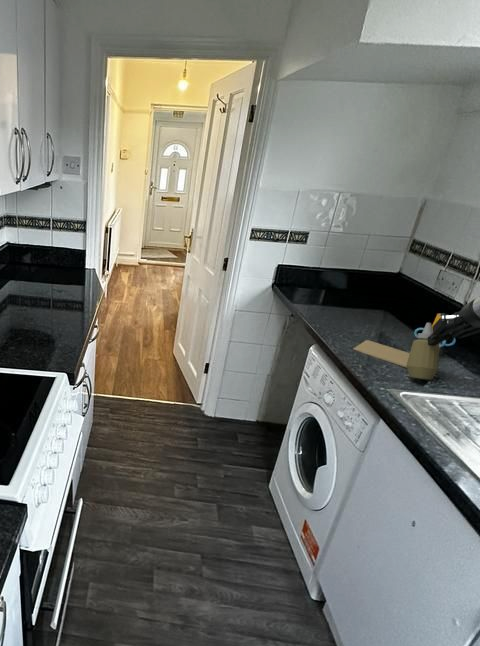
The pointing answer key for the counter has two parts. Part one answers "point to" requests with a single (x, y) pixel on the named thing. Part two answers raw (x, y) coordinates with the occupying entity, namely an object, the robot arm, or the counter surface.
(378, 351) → the cork mat
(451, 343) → the orange cylinder with loops
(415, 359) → the squeeze bottle
